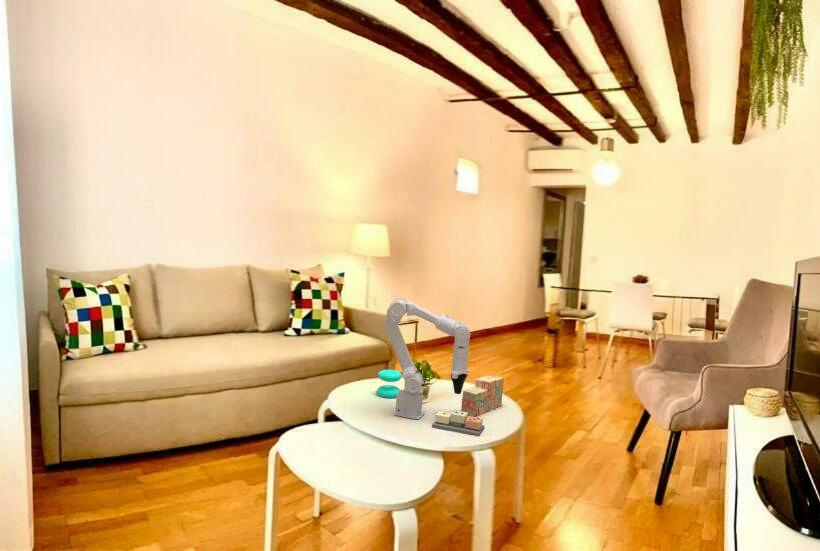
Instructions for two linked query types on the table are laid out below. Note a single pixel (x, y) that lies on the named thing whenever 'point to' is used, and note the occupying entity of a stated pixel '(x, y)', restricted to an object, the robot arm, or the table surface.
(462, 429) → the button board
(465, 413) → the tile two
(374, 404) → the table surface
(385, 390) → the donuts
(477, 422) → the tile three
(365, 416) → the table surface
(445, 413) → the tile one
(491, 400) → the stack of blocks
